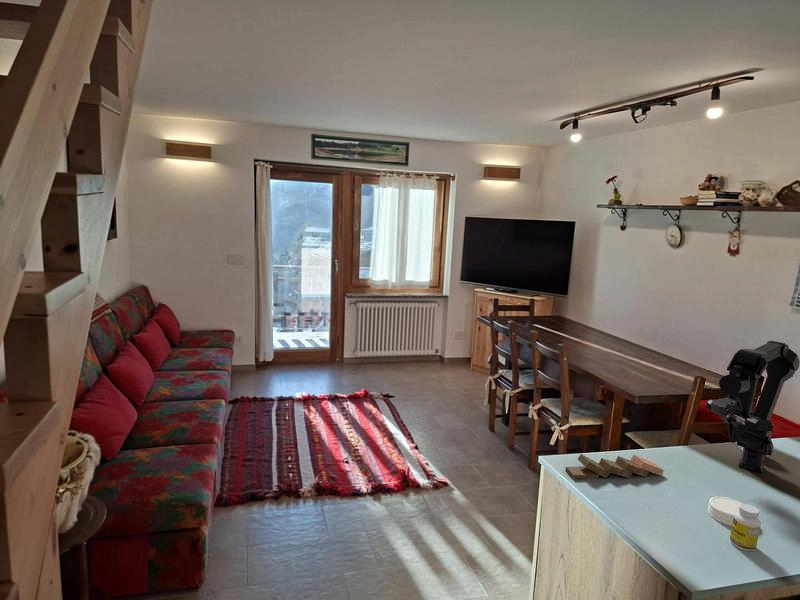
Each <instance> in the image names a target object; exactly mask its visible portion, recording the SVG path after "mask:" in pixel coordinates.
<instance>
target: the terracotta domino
mask: <svg viewBox="0 0 800 600" xmlns="http://www.w3.org/2000/svg"><path fill="white" fill-rule="evenodd" d="M630 460H631V461H632V462H634V463H635V464H636V465H638V466H639V467H640V468H642V469H645V470H647V471H649V472H650V473H653V474H654V475H658V476H662V475H663V474H664V472H665V470H664V469H663V468H662V467H660V466H659V465H658V464H657V463H655V462H654V461H651V460H648V459H646V458H644V457H642V456H638V455H636V454H632V456H631V459H630Z"/></svg>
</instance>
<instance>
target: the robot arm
mask: <svg viewBox="0 0 800 600" xmlns="http://www.w3.org/2000/svg"><path fill="white" fill-rule="evenodd" d="M799 367H800V358H799V356H798V354H797V353H796V352H794V351H793V350H792V349H791V348H790V346H789V344H786V343H785V342H781V341H777V340H776V341H775V340H768V341H767V342H766V343H765V344H763V345H760V346H759V347H756V348H754V349H752V348H741V349H738V350H737V351H736V352H735V353H734V354H733V357H732V358H731V361H730V362H729V364H728V366H727V368H726V371H729V372H728V374H726V375H724V376H722V377H721V378H720V380H719V381H718V385H719V389H720V391H722V392H723V393H724V394H725V397H724V398H718V399H715V400H714V399H709V400H708V401H707V402H706V406H705V408H706V409H707V410H710V411H711V412H712V413H713V414H717V415H718V416H719V418H721V419H722V420H723V421H724V423H725V424H726V428H727V429H726V430H727V435H728V440H729V442H730V443H732V444H734V443H736V446H738V447H739V446H741V447H743V451H742V453H741V458H739V461H738V464H737V467H738V468H742V469H746V470H749V471H753V472H756V473H759V474H763V472H764V464H763V463H764V457H767V456H769V457H770V456H772V455H773V451H774V443H773V441H772V438H771V437H772V432H773V429H774V424H773V421H771V419H772V416H773V414H774V411H775V408H776V405H777V402H778V399H779V397H780V394H781V391H782V389H783V387H784V383H785V382H787V381H789V380H790V379H791V378H793V376H794V375H795V372H796V371H798V370H799ZM764 372H766V375H767V376H766V379H765V381H764V384H763V387H762V389H761V392H760V395H759V397H758V398H757V397H755V395H756V390H757V386H758V382H759V379H760V376H762V375H763V374H764ZM753 403H756V405H755V408H754V410H752V408H753Z"/></svg>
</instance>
